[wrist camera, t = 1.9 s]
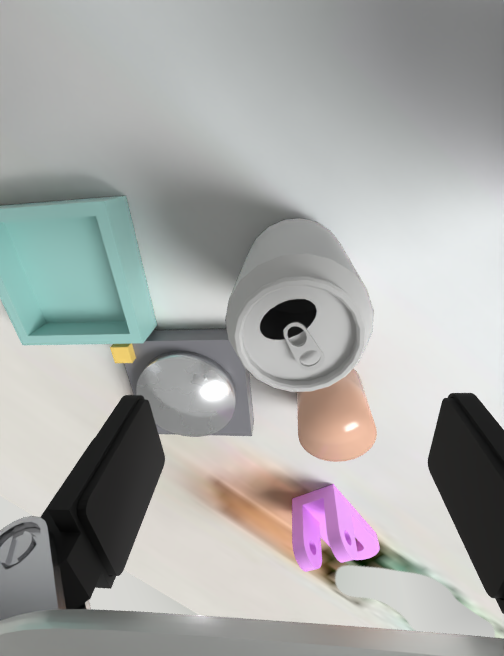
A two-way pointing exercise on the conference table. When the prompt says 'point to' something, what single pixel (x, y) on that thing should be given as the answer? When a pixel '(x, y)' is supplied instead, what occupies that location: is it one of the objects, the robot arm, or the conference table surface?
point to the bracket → (329, 529)
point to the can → (299, 308)
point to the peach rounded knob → (336, 420)
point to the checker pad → (188, 393)
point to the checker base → (203, 343)
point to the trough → (73, 273)
